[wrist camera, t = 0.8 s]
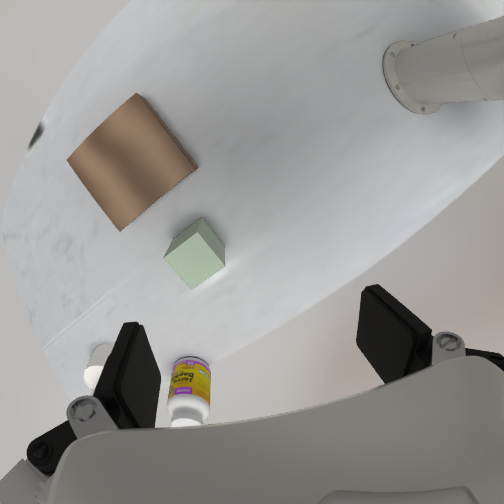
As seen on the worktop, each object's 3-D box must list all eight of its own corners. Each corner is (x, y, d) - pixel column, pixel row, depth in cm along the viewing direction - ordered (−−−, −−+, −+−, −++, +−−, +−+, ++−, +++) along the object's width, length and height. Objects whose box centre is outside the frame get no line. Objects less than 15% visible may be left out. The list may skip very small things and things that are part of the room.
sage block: (201, 217, 36) (197, 231, 30) (224, 245, 38) (225, 266, 31) (173, 239, 37) (163, 258, 30) (195, 266, 39) (191, 290, 32)
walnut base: (145, 98, 30) (136, 92, 26) (197, 167, 34) (194, 169, 30) (80, 158, 31) (66, 160, 27) (129, 223, 35) (119, 231, 32)
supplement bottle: (197, 350, 44) (193, 410, 32) (217, 374, 46) (219, 432, 34) (165, 362, 44) (155, 420, 32) (186, 385, 46) (181, 441, 34)
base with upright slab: (104, 334, 41) (80, 383, 30) (147, 362, 44) (134, 413, 33) (88, 361, 43) (67, 406, 32) (127, 385, 46) (114, 432, 34)
